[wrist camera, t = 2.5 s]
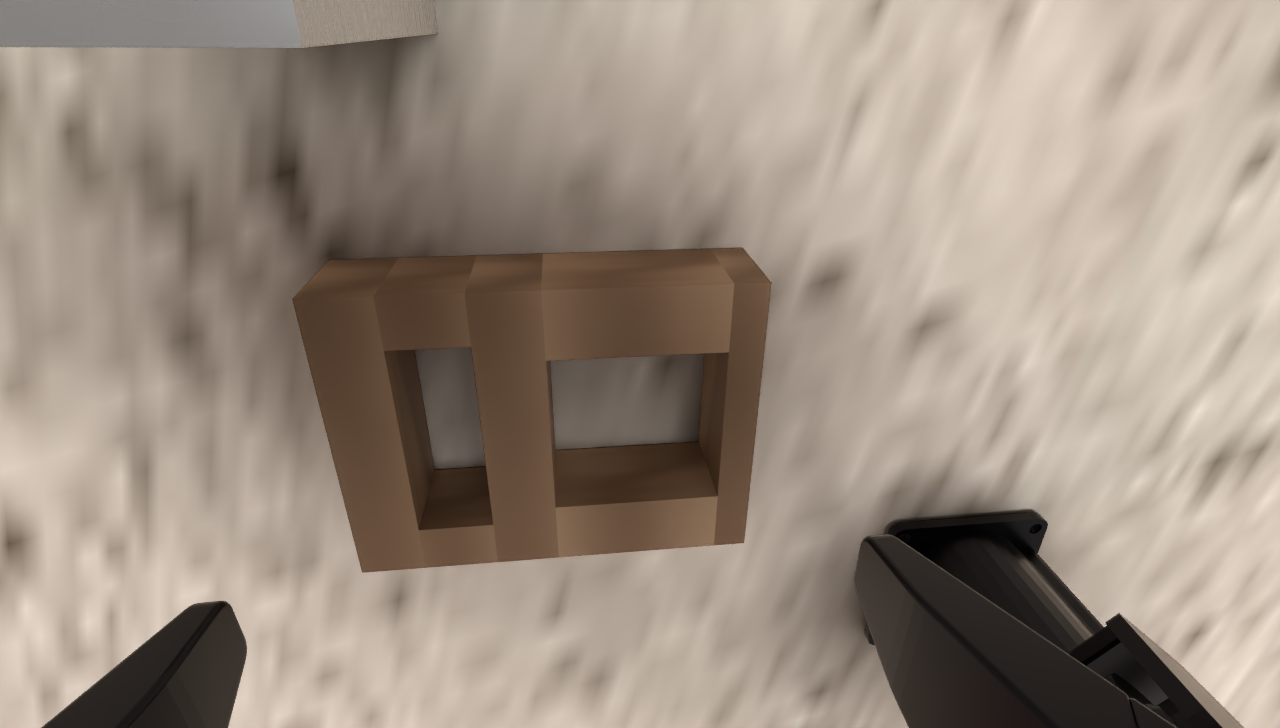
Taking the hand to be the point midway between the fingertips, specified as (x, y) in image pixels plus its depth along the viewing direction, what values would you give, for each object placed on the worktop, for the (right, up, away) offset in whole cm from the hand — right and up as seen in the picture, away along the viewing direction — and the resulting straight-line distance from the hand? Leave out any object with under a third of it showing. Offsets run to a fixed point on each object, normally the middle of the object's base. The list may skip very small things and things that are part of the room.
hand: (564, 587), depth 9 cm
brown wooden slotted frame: (-2, +2, +12) cm, 12 cm away
